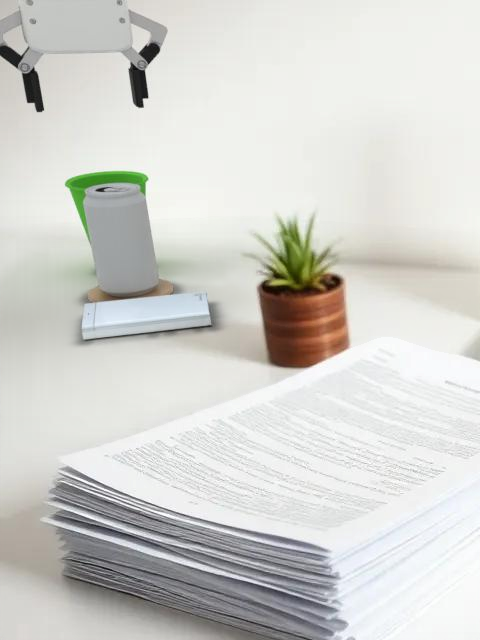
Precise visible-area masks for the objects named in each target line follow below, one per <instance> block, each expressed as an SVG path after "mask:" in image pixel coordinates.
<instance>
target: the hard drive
mask: <svg viewBox="0 0 480 640" xmlns="http://www.w3.org/2000/svg"><path fill="white" fill-rule="evenodd" d="M83 306H84V307H83V312H82V320H81V335H82V339H83V340H84V341H85V340H92V339H93V340H94V339H100V338H109V337H119V336H127V335H136V334H143V333H144V334H146V333H154V332H162V331H163V332H164V331H171V330H180V329H189V328H199V327H208V326H212V319H211V312H210V306H209V300H208V293H207V291H206V290H204V291H194V292H185V293H175V294H174V293H173V294H170V295H163V296H153V297H144V298H134V299H124V300H114V301H105V302H96V303H92V302H88V303H84V305H83Z"/></svg>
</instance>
